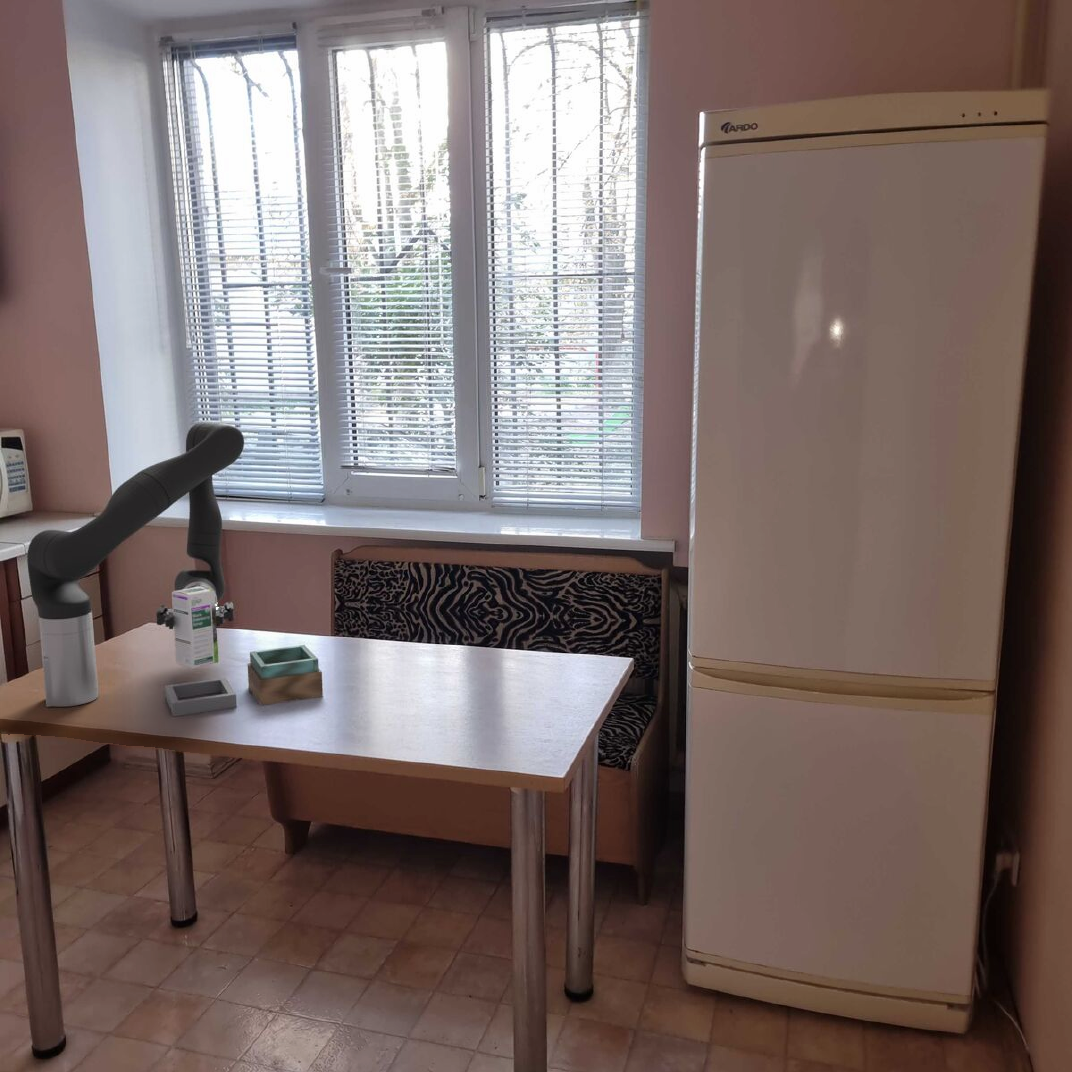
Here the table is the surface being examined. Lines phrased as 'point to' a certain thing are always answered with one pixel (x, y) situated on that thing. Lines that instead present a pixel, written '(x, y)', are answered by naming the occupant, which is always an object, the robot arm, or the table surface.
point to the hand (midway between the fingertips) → (194, 622)
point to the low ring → (203, 703)
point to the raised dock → (284, 675)
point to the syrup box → (195, 627)
